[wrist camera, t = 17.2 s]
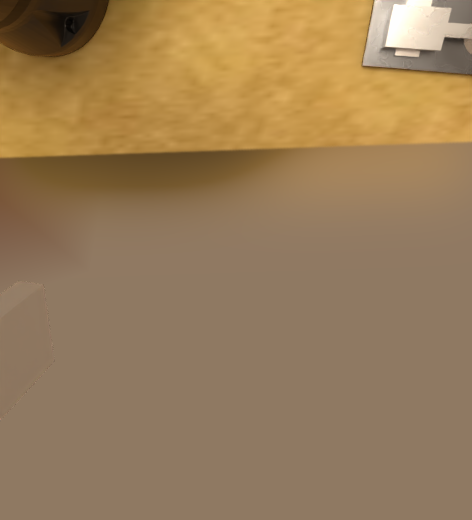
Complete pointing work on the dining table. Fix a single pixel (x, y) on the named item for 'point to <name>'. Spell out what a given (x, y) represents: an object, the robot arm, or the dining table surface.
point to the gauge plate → (425, 60)
